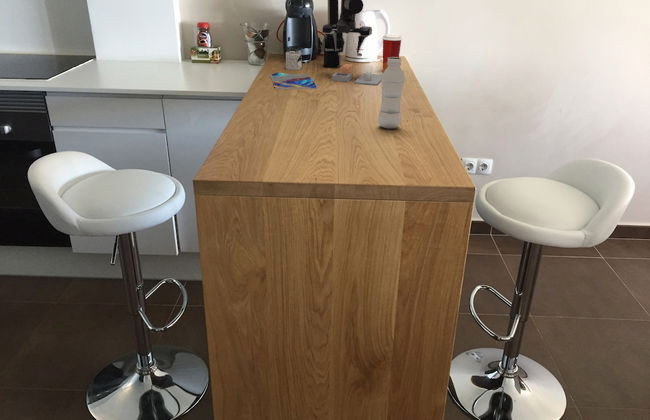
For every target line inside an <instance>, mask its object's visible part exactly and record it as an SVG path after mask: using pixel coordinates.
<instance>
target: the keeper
mask: <svg viewBox="0 0 650 420" xmlns="http://www.w3.org/2000/svg"><path fill="white" fill-rule="evenodd" d="M364 72H365V73H364ZM364 72H363V73H362V74H361V75H360V76H359V77H358V78H357V79H356V80H354V81H353V84H357V85H366V86H376V87H377V86H378V85H379V84H380V83H382V80H381V77H382V74H377V73H373V66H365V71H364Z"/></svg>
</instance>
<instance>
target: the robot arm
mask: <svg viewBox="0 0 650 420" xmlns="http://www.w3.org/2000/svg"><path fill="white" fill-rule="evenodd" d="M363 9H364V1H363V0H341V1H340V13H339V0H327V23H326V24H324V25H323V26H322V29H321V30H322V33H323V34H324V38H323V39H322V43H321V45H320V46H321V47H320V48H321V52H322V53H323V65H322V67H324V68H333V69H334V68H339V67H341V64H342V61H341V59H342V56H341V53H343V52H344V47H345V39H344V37H343V36H344V35H343V34H349V33H351V34H352V33H356V34H359V35H358V36H357V39H358V41H357V47H356V54H359V53H360V50H361V47H362V46H363V42H364V41H365V39H366V38H368V37H369V36H371V35H372V33H373V29H372V26H366V25H364V26H363V25H362V26H360V27H356V26H357V24H356V23H357V22H356V16H357V14H359V13H360V14H361V12H362V11H363Z"/></svg>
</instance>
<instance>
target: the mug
mask: <svg viewBox="0 0 650 420" xmlns="http://www.w3.org/2000/svg"><path fill="white" fill-rule="evenodd" d="M285 70H288V71H300V70H302V53H301V52H295V51H290V50H289V51H286V52H285Z"/></svg>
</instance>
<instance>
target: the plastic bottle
mask: <svg viewBox="0 0 650 420" xmlns="http://www.w3.org/2000/svg"><path fill="white" fill-rule="evenodd" d="M387 65H388V67H387V68H386V69H385V71H384V72H383V71H382V74H381V75H382V77H381V80H382V81H381V102H380V109H379V113H378V117H377V121H378V122H377V123H378V125H379V126H380V127H381V128H384V129H396V128H398V127H399V126H401V125H400V124H401V122H402V112H401V102H402V101H401V100H402V93H403V88H404V85H405V81H406V80H405V79H406V77H405V73H404V71H403V70H402V68H401V65H402V58H401V57H399V58H398V57H388V62H387Z"/></svg>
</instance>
